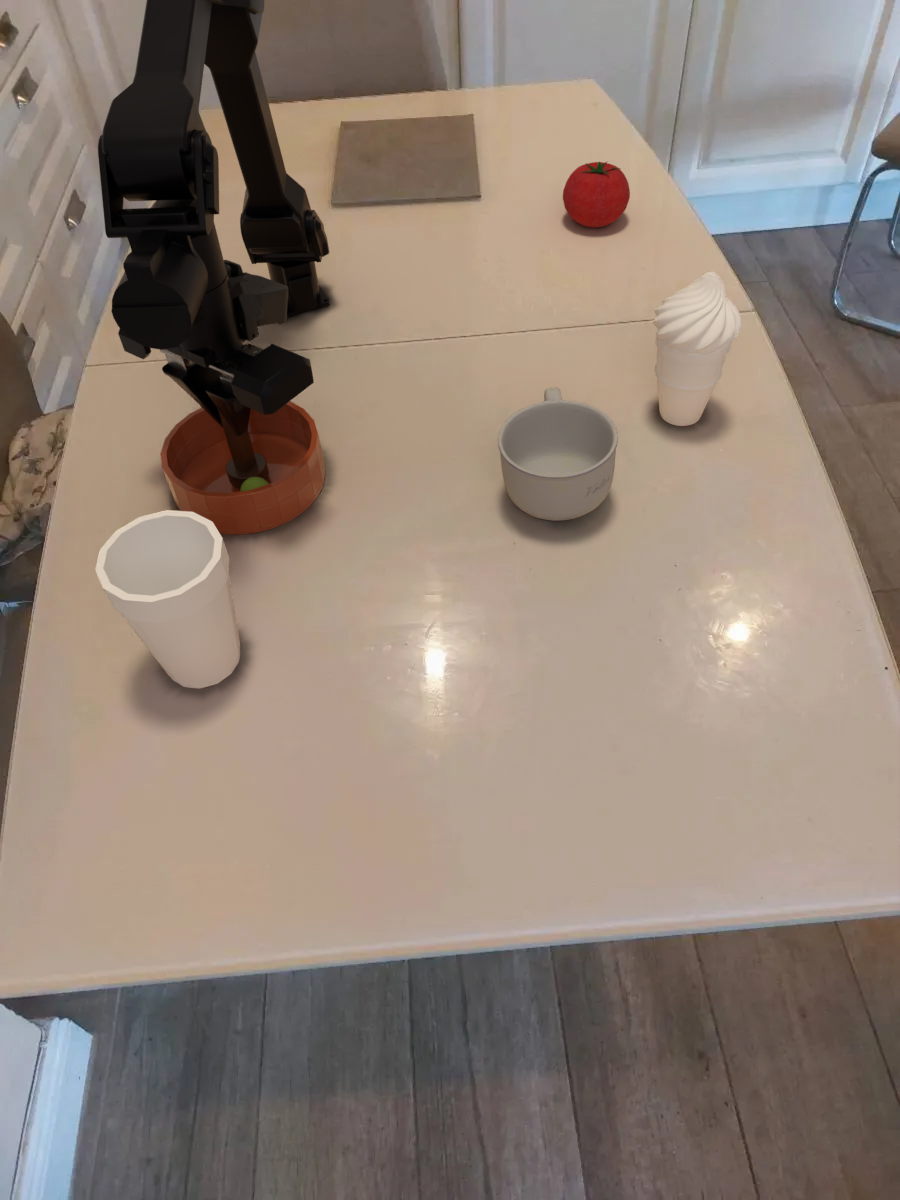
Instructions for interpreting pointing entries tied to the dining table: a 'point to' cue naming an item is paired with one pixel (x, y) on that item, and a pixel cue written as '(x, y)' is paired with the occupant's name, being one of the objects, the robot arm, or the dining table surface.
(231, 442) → the stir stick
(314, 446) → the bowl
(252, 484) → the grape
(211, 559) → the foam cup
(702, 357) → the ice cream cone
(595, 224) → the tomato
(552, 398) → the teacup
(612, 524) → the dining table surface
